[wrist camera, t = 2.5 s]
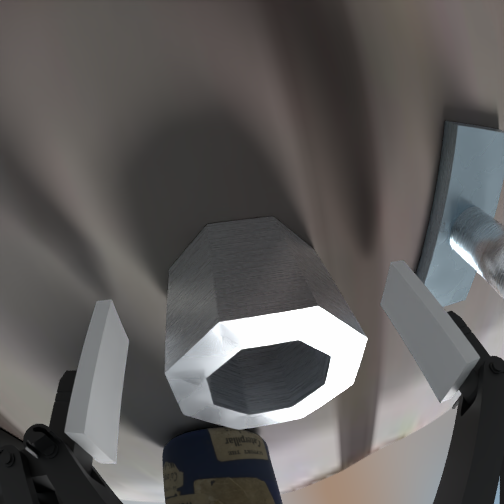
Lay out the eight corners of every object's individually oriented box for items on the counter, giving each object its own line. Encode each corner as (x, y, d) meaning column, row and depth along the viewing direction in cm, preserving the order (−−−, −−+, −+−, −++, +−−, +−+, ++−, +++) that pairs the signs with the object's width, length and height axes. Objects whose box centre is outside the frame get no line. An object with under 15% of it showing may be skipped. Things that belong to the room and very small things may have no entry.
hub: (187, 340, 17) (193, 434, 12) (160, 230, 14) (147, 330, 9) (308, 321, 18) (344, 407, 13) (316, 211, 14) (379, 293, 9)
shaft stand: (406, 305, 19) (461, 385, 13) (444, 120, 13) (556, 171, 7) (457, 291, 20) (512, 357, 14) (499, 129, 13) (591, 176, 8)
